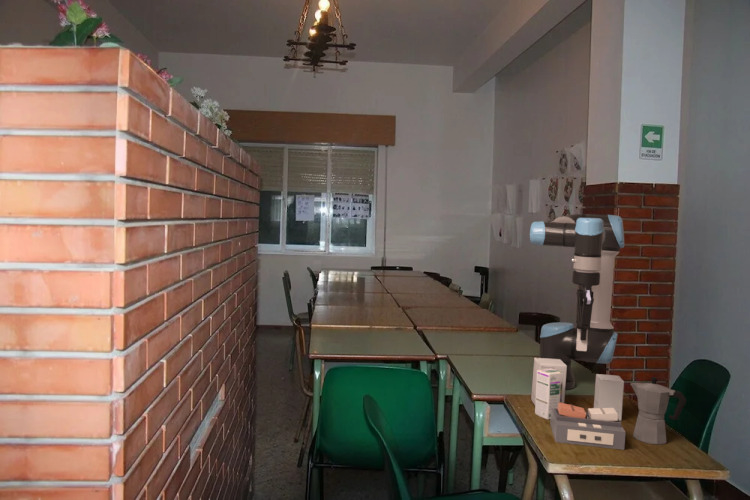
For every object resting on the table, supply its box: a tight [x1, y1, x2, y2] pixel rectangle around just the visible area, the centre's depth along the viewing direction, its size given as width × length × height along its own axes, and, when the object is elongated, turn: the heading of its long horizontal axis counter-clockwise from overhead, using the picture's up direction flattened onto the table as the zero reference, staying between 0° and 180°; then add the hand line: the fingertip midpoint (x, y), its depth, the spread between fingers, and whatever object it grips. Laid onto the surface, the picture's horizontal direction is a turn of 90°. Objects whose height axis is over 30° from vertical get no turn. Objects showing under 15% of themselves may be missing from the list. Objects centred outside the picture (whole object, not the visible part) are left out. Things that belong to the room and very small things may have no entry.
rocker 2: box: [587, 407, 618, 421], centre depth 165 cm, size 5×7×2 cm
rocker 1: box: [557, 402, 587, 418], centre depth 166 cm, size 5×7×2 cm
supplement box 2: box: [593, 373, 625, 422], centre depth 184 cm, size 7×7×13 cm
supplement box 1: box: [530, 357, 567, 406], centre depth 193 cm, size 9×9×15 cm
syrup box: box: [534, 368, 563, 421], centre depth 182 cm, size 6×6×14 cm
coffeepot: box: [629, 376, 687, 446], centre depth 165 cm, size 15×9×18 cm, turn 43°
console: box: [549, 408, 626, 451], centre depth 166 cm, size 14×18×6 cm
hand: (581, 350), depth 170 cm, fingers closed
